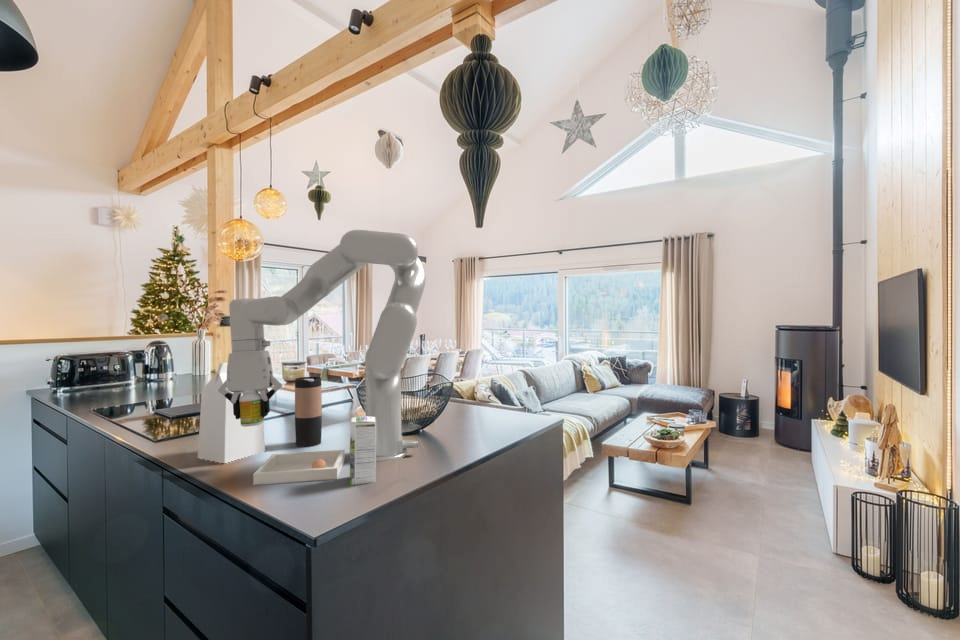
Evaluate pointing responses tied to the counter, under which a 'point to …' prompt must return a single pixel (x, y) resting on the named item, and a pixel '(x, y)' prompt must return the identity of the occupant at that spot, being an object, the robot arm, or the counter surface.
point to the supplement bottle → (250, 408)
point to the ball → (318, 464)
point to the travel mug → (308, 411)
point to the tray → (299, 467)
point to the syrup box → (363, 450)
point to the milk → (225, 426)
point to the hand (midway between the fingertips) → (252, 416)
